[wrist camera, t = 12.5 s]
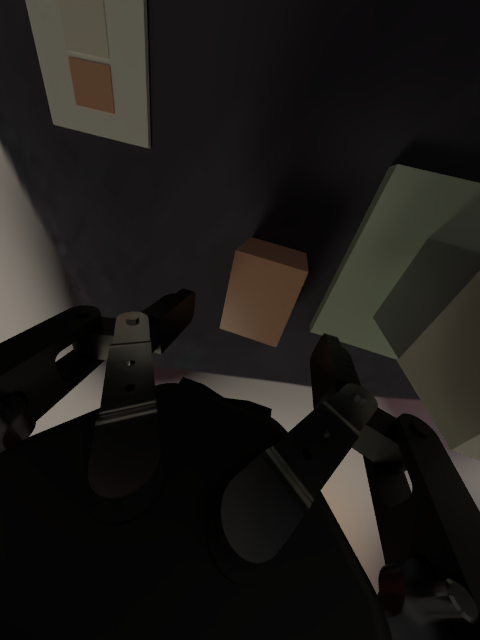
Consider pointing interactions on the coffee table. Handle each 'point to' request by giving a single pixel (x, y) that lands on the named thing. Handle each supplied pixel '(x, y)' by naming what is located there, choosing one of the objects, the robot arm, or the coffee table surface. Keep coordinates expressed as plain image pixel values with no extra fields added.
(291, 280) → the brick terracotta
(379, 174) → the coffee table surface
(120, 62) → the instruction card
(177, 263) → the coffee table surface
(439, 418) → the brick cream
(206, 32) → the coffee table surface
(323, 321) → the baseplate
